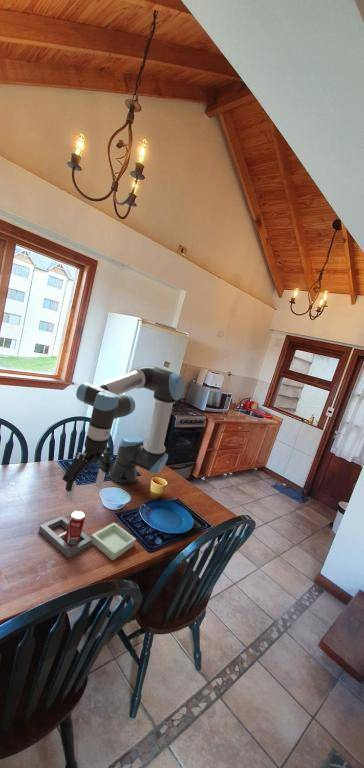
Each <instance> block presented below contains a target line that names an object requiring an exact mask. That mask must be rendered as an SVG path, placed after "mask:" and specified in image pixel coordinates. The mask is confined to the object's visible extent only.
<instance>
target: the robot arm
mask: <svg viewBox="0 0 364 768" xmlns="http://www.w3.org/2000/svg"><path fill="white" fill-rule="evenodd" d="M141 388H142V389H146V390H149V391H152V392H153V396H152V397H153V399H154V400H155V402H154V407H153V413H152V415H151V416H152V418H151V420H150V421H151V423H150V427H149V430H148V431H149V432H148V437H147V439H146V440H147V441H146V442H144V439H143V438H141V437H140V436H136V435H125V436H123V437H122V438H121V439H120V441H119V444H118V446H119V447H118V449H117V453H116V456H115V457H116V458H115V461H114V463H113V465H112V458H111V447H109V446H108V444H109V438H110V435H111V432H112V431H111V430H112V428H113V423H114V420H115V419H119V418H124V417H127V416H129V415H131V414H132V413H134V411H135V409H136V402H135V399H134V398H133V396H130V395H125V394H124V393H127V392H128V391H131V390H133V389H136V390H139V389H141ZM184 391H185V380H184V377H183V376H182V375H180V374H178V373H176V372H173V371H171V370H166V369H163V368H160V367H158V366H153V365H149V366H147V365H145V366H139V367H135V368H132V369H131V370H130V371H128V372H127V373H124V374H122V375H119V376H115V377H112V378H110V379H107V380H103V381H100V382H98V383H95V384H92V383H91V382H86V381H85V382H82V383H80V384H79V386H78V387H77V389H76V394H75V395H76V399H77V400H78V401H80V402H82V403H83V404H85V405H89V406H90V407H91V406H92V411H91V416H90V421H89V424H88V427H87V431H86V436H85V440H84V443H83V444H84V451H83V452H80V451H76V454H75V456H74V459H73V460H72V462H71V463H70V465H69V467H68V468H67V470H66V471H65V473H64V475H63V476H62V480H63V481H64V482H65V483H66V485H65V494H64V499H66V500H68V501H70V502H71V501H72V500H73V496H74V493H75V488H76V483H77V482H76V480H77V479H78V477H80V475H82V473H83V472H84V470H85V469H86V468H87V467H89V466H90V465H91V464H93V463H98V466H99V467H100V469H98V472H97V476H96V479H95V480H96V481H95V484H94V486H95V487H96V488H98V489H99V490H101V489H102V488H103V484H104V480H105V478H106V475H107V473H108V477H110V478H109V479H110V480H111V481H112V482H114V483H116V484H120V485H132V484H134V483H136V482H137V481H136V480H137V478H138V474H137V467H139V468H142V469H143V470H146V471H147V472H149V473H152V474H155V475H157V474H159V473H160V472H161V471H162V470H163V468H164V467H165V465H166V463H167V462H168V458H169V453H166V446H165V440H166V436H167V431H168V427H169V423H170V418H171V415H172V410H173V405H174V404H175V403H177V401H178V400H180V399H181V398H182V396H183V393H184ZM121 394H122V395H121Z"/></svg>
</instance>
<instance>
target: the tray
mask: <svg viewBox="0 0 364 768" xmlns="http://www.w3.org/2000/svg"><path fill="white" fill-rule="evenodd" d="M90 538H91V539H92V542H91V545H93V546H95V547H96V548H97V549H99V551H101V553H103V554H105V556H107V558H109V559H110V560H111V561H114V560H116V559H117V558H119V557H120V556H121V555H122V554H124V553H125V552H127V551H128V550H130V549H131V548H132V547H134V546H135V544H136V541H137V538H136V537H135V536H133V535H132V534H130V533H129V532H128V531H126V530H125V529H124V528H122V527H121V526H120V525H119V524H118V523H116V522H112V523H110V524H109V525H107V526H104V527H103V528H102V529H101V528H100V529H99V530H98V531H96V532H94V533H93V534H91V537H90Z"/></svg>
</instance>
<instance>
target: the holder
mask: <svg viewBox="0 0 364 768" xmlns="http://www.w3.org/2000/svg"><path fill="white" fill-rule="evenodd" d="M68 523H69V519H68V518H67V517H66V516H65V515H61V516H58V517H56V518H52V519H51V520H49V521H46V522H45V523H42V524H40V525H39V528H38V532H39V533H40V534H41V535H42V536H43V537H45V538H46V539H47V540H48V541H49V542H50V543H51V544H52V545H53V546H54V547H55V548H57V550H58V551H60V552H61V553H62V554H63V555H64V556H65V557H66V558H67V559H70V558H72V557H73V556H74V555H77V554H78V553H80V552H81V551H83V550H85V549H86V548H88V547H90V546H91V545H92V543H91V542H92V539H91V537H90V536H89V535H87V534H86V533H85V532H83V531H82V532H81V536H80V540H79V543H77V544H75V545H74V546H72V547H70V546H69V545H68V544H67V543H66V542H65V541H64V539H65V535H66V531H67V527H68ZM59 526H61V527H63V529H64V530H66V531H64V532H62V533H60V534H57V533H55V531H54V530H52V529H55V528H56V527H59Z"/></svg>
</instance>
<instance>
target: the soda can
mask: <svg viewBox="0 0 364 768" xmlns="http://www.w3.org/2000/svg"><path fill="white" fill-rule="evenodd" d="M85 515H86V514H85V513H84V512H83V511H82V510H74V511H73V512H72V513H71V514H70V516H69V519H68V520H69V523H68V527H67V530H66V531H65V532H66V535H65V539H64V541H65V542H66V543H67V544H68V545H69V546H70V547H72V546H74V545H75V544H77V543H79V542H80V541H79V540H80V536H81V532H83V527H84V524H85V520H86V518H85Z"/></svg>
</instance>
